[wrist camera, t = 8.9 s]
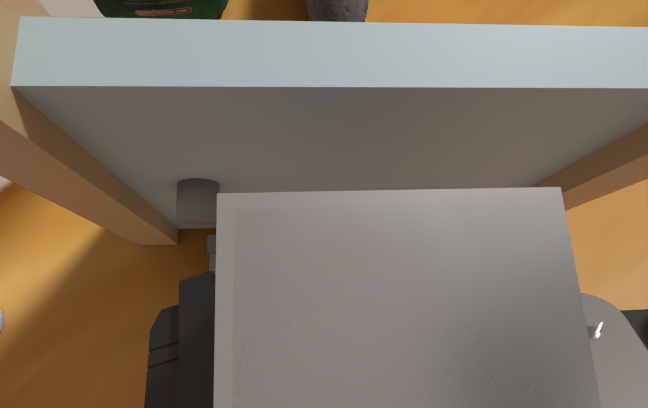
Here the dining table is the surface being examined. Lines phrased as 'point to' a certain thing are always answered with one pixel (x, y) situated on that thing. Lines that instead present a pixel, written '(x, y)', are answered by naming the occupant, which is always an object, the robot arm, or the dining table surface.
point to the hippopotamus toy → (1, 320)
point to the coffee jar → (162, 9)
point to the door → (309, 111)
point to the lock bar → (399, 301)
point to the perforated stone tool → (337, 10)
